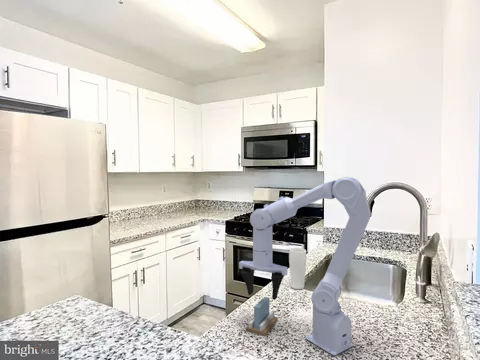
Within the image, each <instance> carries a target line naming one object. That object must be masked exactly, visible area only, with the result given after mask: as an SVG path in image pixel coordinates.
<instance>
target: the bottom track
mask: <svg viewBox="0 0 480 360" xmlns="http://www.w3.org/2000/svg"><path fill="white" fill-rule="evenodd" d="M277 322H278V316H275V311H274V310H272V311H270V312H269V315H268V316H267V317H266V318H265V320H264V321H263V322H262V323H261V324H260V325H259V329H256V328H254V317H253V318H252V319H251V320H250V321H249V322H248V325H247V326H245V332H247V333H252V334H255V335H258V336H262V337H266V336H267V335H268V334H269V333H270V331H271V330H272V329H273V327H274V326H275V325H276V323H277Z"/></svg>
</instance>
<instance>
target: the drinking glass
mask: <svg viewBox="0 0 480 360" xmlns="http://www.w3.org/2000/svg"><path fill="white" fill-rule="evenodd" d="M288 263H289V276H290V287H291V288H292V289H294V290H303V289H304V288H305V281H306V280H305V279H306V270H307V269H306V268H307V250H306V249H305V248H298V247H293V248H290V249H289V252H288Z"/></svg>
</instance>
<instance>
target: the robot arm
mask: <svg viewBox="0 0 480 360" xmlns="http://www.w3.org/2000/svg"><path fill="white" fill-rule="evenodd" d="M323 199H329V200H333V199H336V200H337V201H338V202H339V203H340V204H341V205H342V206H343V208H344V209H345V211H346V213H347V215H348V220H347V222H346V225H345V228H344V230H343V232H342V235H341V237H340V239H339V241H338V244H337V247H336V248H335V250H334V253H333V255H332V257H331V260H330V262H329V265H328V267H327V269H326V271H325V274H324V277H323V278H321V280H319V282H318V284H317V286H316V288H315V289H314V290H313V292H312V293H311V298H310V299H311V303H312V333H311V334H309V335H306V336H305V340H307V341H308V342H310V343H312V344H314V345H315V346H317V347H319V348H320V349H322V350H324V351H325V352H327V353H329V354H330V355H332V356H337V355H339V354H340V353H342V352H344V351H346V350H349V349H350V348H351V347H354V344H353V343H352V319H351V318H350V317H349V316H348V315H346V314H345V313H344V312H343V310H342V306H341V304H340V302H339V298H340V296H341V295H342V283H343V280H344V279H345V276H346V274H347V272H348V269H349V267H350V265H351V262H352V260H353V259H354V256H355V254H356V251H357V249H358V246H359V244H360V242H361V239H362V238H363V235H364V233H365V231H366V229H367V226H368V224H369V222H370V219H371V215H372V214H371V210H370V206H369V201H368V198H367V193H366V190H365V187H363V185H362V184H361V182H360V181H359V179H356V178H354V177H349V176H342V177H339V178H338V179H337V180H335V179H334V180H331V181H328V182H324V183H322V184H319V185H317V186H316V187H314V188H311V189H309V190H307V191H306V192H303V193H301V194H300V195H298V196H295V197H293V198H291V197H290V196H289V197H288V196H285V197H284V196H279V197H278V198H277V200H276V201H274V202H272V203H270V204H268V203H266V204H264V205H263V208H256V209H255V210H254V211H252V212H251V214H250V218H249V221H250V222H249V223H250V225H251V226H252V260H251V261H250V260H249V261H248V260H241V261H239V262H238V268H239V269H240V270H241V271H240V275H241V277H242V279H243V280H244V283H245V286H246V290H247V294H248V295H249V296H250V295H252V294H254V278H255V271H258V272H263V273H264V272H266V273H271V274H272V275H271V276H270V278H271V284H272V286H271V287H272V294H271V295H272V296H271V297H272V300H276V299H278V295H279V291H280V290H279V289H280V286H281V284H282V282H283V279H284V277H285V276H286V275H288V266H283V265H280V264H276V263H273V226H274V224H278V223H281V222H283V221H285V220H287V219H291V218H292V217H294V216H296V214H297V212H298V209H300V208H302V207H305V206H307V205H310V204H313V203H315V202H317V201H320V200H323Z"/></svg>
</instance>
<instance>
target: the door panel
mask: <svg viewBox="0 0 480 360" xmlns="http://www.w3.org/2000/svg"><path fill="white" fill-rule="evenodd" d="M269 314H270V297H267V296H264V297H263V298H262V299H261V300H260V301H258V302H257V303H256V304H255V306H253V318H254V328H256V329H259V325H260V324H261V323H262V322H263V321H264V320H265V318H266V317H267V316H268V315H269Z"/></svg>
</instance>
